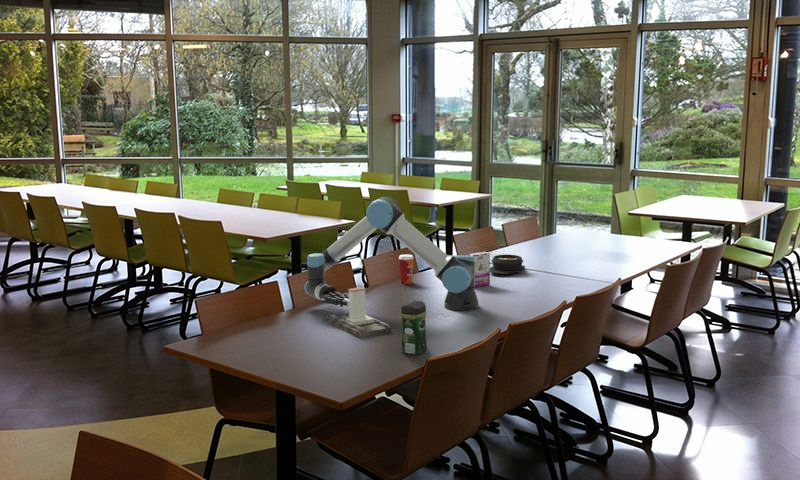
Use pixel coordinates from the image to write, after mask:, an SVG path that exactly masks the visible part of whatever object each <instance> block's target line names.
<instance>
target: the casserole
mask: <svg viewBox="0 0 800 480" xmlns="http://www.w3.org/2000/svg"><path fill="white" fill-rule="evenodd" d="M490 262H491V263H492V266H490V274H491V273H492V274H496V275H497V274H499V275H515V274H518V273H522V272H524V271H525V269H526V266H525V265H522V264H523V263H524V260H523V258H522V256H520V255H515V254H497V255H494V256H493V257H492V259H491V260H490Z"/></svg>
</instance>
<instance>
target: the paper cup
mask: <svg viewBox="0 0 800 480" xmlns="http://www.w3.org/2000/svg"><path fill="white" fill-rule="evenodd" d="M398 261H399V275H400V276H399V277H400V278H399V279H400V284H402V285H409V284H412V282H413V271H414V270H413V268H414V265H413V264H414V256H413V254H400V255H399V257H398Z"/></svg>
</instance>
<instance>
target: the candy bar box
mask: <svg viewBox="0 0 800 480" xmlns="http://www.w3.org/2000/svg"><path fill="white" fill-rule="evenodd" d="M490 255H491V254H490V252H487V251H481V252H473V253H472V252H471V253H466V254H465V256H473V257H474V259H475V288H480V287H487V286H491V282H490V281H491V278H490V276H491V272H490V268H491V266H490V262H491V260H490V257H491V256H490Z"/></svg>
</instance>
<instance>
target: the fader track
mask: <svg viewBox="0 0 800 480" xmlns="http://www.w3.org/2000/svg"><path fill="white" fill-rule="evenodd" d="M366 315H367V316H369V317H371V318H373V319H374V322H373V323H367V324H362V325H355V324H353V323H350V322H348V321H346V318H349V311H347V312H342V313H337V314H336V313H335V314H334V313H331V312H327V315H326V316H325V321H326V322H327V323H329V324H332V325H334V326H336V327H337V328H339V329H341V330H344V331H346V332H348V333H350V334H352V335H353V336H356V337H357V338H359V339H363V338H368V337H375V336H380V335H386V334H390V333H393V332H392V330H393V329H392V327H391V326H390V324H388V323H386V322H383V321H381V320H379V319H377V318H374V317H372V316H370V315H368V314H366Z"/></svg>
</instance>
